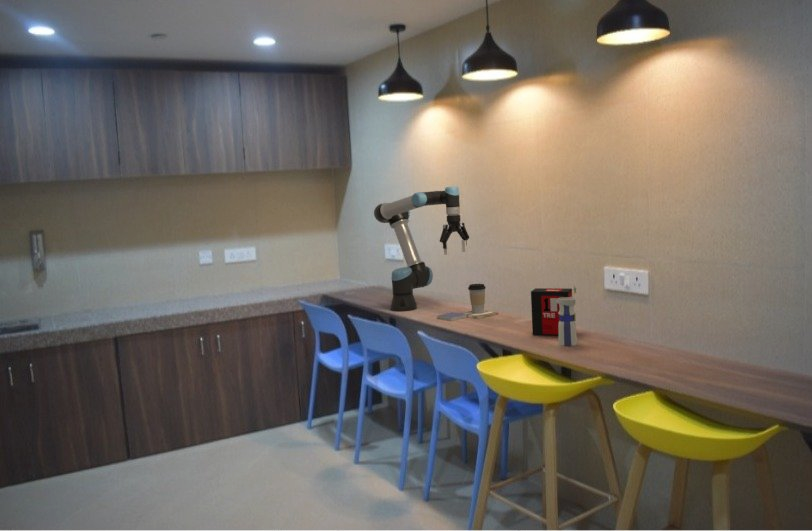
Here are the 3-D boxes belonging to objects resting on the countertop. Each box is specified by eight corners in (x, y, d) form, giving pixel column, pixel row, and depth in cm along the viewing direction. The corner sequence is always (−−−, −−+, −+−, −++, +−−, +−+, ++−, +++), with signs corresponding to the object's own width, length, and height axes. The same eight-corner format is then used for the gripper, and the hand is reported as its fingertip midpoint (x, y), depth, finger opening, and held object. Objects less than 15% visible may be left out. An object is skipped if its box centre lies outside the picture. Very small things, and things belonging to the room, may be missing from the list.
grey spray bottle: (577, 341, 295) (576, 283, 292) (578, 346, 286) (576, 286, 284) (558, 341, 297) (556, 284, 294) (558, 346, 288) (555, 287, 285)
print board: (458, 315, 368) (458, 313, 368) (478, 311, 377) (478, 309, 377) (478, 318, 356) (478, 316, 356) (498, 314, 365) (498, 311, 365)
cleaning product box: (532, 335, 312) (530, 291, 309) (537, 331, 320) (535, 288, 317) (569, 336, 305) (567, 291, 303) (573, 332, 313) (571, 288, 311)
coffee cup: (486, 314, 361) (484, 285, 359) (468, 314, 363) (466, 286, 361) (487, 310, 370) (486, 283, 368) (470, 311, 372) (468, 283, 370)
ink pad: (437, 318, 364) (437, 315, 363) (452, 315, 370) (452, 312, 370) (451, 321, 355) (451, 317, 355) (466, 317, 362) (466, 314, 362)
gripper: (441, 216, 368) (443, 256, 371) (474, 213, 384) (476, 251, 386) (431, 216, 374) (434, 255, 376) (465, 213, 389) (466, 250, 392)
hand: (455, 253), depth 381 cm, fingers open, 13 cm apart
